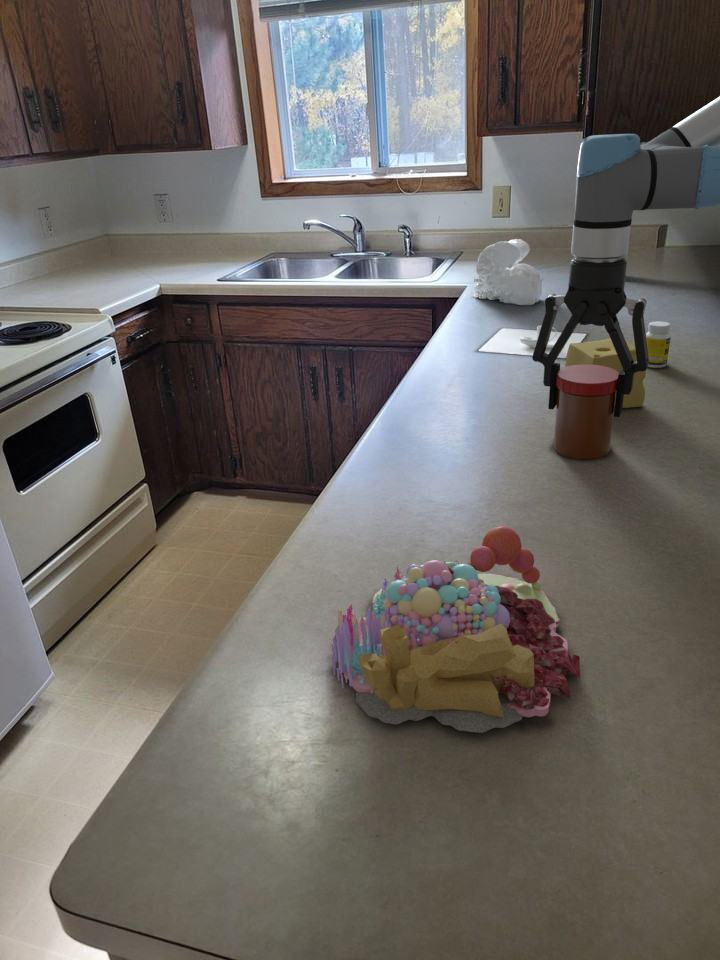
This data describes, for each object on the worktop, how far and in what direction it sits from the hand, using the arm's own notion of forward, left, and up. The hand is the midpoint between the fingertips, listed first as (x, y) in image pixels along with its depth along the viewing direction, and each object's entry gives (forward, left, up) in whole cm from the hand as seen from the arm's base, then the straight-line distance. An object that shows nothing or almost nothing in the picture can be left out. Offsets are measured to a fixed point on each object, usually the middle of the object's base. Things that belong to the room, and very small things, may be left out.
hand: (584, 409), depth 112 cm
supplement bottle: (-5, -46, -7) cm, 47 cm away
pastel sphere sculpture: (+2, +53, -7) cm, 53 cm away
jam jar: (0, 0, -6) cm, 6 cm away
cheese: (+1, -22, -7) cm, 23 cm away
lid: (0, 0, +5) cm, 5 cm away
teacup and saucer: (+22, -55, -7) cm, 60 cm away
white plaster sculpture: (+40, -95, -7) cm, 103 cm away
